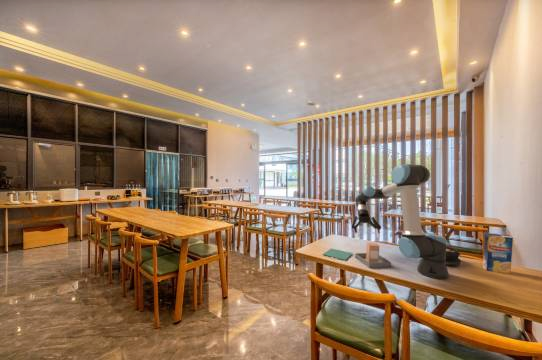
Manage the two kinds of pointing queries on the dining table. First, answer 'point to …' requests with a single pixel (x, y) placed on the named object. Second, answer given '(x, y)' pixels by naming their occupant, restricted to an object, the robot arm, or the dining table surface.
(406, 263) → the dining table surface
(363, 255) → the bin
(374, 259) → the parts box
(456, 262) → the casserole
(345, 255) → the mat
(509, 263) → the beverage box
